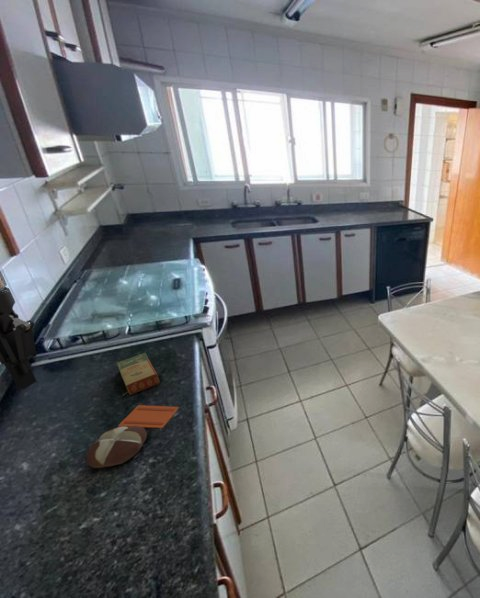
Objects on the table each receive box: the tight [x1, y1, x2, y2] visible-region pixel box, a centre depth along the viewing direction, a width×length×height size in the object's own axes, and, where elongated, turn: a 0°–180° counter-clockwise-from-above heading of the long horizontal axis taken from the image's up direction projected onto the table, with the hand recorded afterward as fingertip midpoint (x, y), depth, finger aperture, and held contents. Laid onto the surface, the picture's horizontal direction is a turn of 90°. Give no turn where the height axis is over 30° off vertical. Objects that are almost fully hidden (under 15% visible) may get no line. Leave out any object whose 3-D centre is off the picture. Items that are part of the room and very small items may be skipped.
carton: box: [116, 352, 161, 396], centre depth 107 cm, size 8×16×4 cm, turn 46°
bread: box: [85, 426, 148, 469], centre depth 82 cm, size 11×11×5 cm
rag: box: [117, 404, 179, 429], centre depth 94 cm, size 12×8×1 cm, turn 91°
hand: (27, 384), depth 76 cm, fingers closed
